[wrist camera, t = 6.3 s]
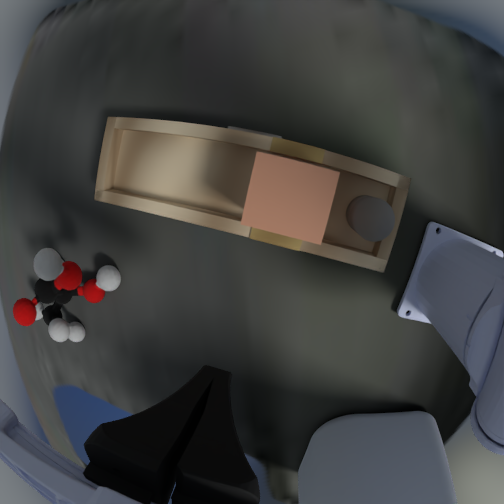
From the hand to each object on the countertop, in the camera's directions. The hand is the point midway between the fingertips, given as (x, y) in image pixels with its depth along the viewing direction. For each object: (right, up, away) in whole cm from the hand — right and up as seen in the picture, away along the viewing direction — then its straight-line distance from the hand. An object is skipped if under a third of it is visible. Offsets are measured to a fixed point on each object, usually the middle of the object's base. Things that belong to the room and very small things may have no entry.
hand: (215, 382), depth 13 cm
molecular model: (-15, +3, +12) cm, 20 cm away
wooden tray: (+1, +11, +7) cm, 14 cm away
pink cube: (+4, +10, +4) cm, 11 cm away
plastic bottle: (+15, -17, +13) cm, 26 cm away
